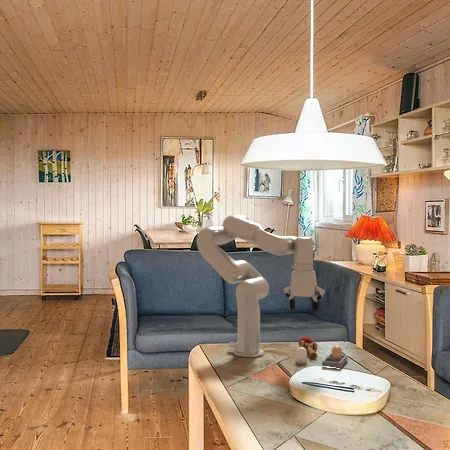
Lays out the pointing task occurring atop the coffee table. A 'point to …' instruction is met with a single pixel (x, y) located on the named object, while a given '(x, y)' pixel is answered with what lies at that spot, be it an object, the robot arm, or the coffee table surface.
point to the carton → (335, 358)
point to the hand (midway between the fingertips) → (304, 310)
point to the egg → (301, 355)
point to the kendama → (309, 346)
